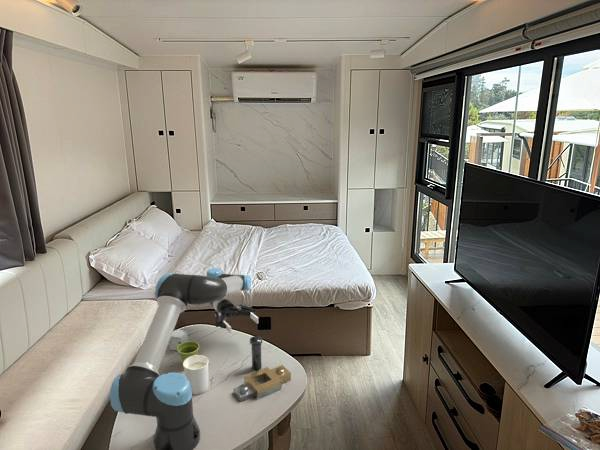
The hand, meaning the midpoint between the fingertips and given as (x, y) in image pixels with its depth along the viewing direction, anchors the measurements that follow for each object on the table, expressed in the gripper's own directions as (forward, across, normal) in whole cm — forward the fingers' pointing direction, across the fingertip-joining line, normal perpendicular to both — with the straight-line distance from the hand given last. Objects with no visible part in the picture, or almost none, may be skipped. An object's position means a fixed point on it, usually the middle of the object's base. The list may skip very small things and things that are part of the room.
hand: (244, 325), depth 185 cm
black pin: (+11, 0, -16) cm, 19 cm away
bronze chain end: (+23, +1, -16) cm, 28 cm away
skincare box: (-24, +22, -16) cm, 37 cm away
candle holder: (+9, +26, -16) cm, 32 cm away
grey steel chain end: (+23, +7, -15) cm, 28 cm away
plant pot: (-8, +23, -16) cm, 29 cm away
